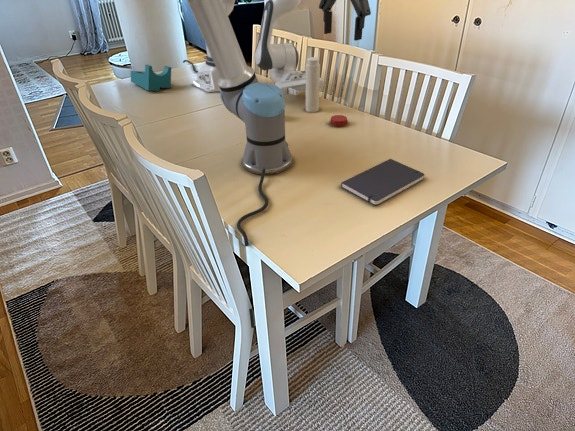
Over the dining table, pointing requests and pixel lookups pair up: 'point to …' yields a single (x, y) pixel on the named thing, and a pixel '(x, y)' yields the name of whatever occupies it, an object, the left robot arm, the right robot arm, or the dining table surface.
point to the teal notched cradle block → (152, 78)
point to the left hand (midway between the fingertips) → (307, 91)
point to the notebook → (382, 181)
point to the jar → (312, 84)
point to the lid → (338, 121)
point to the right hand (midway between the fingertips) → (342, 36)
